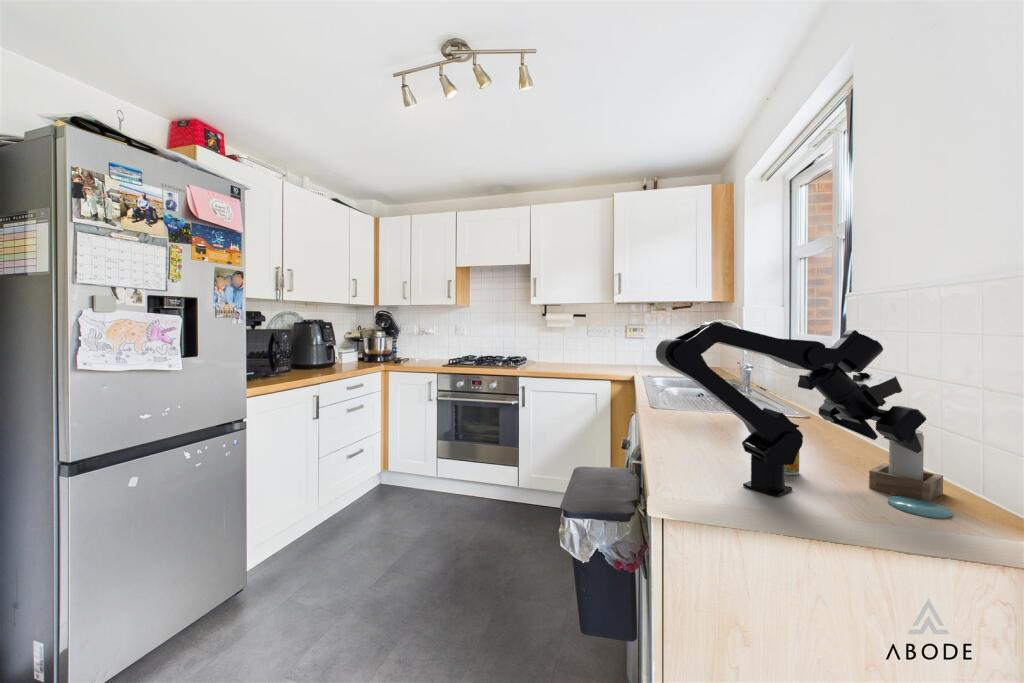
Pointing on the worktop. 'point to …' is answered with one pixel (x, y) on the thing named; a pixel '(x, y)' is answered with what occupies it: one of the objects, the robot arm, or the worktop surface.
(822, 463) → the worktop surface
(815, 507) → the worktop surface
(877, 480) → the square wooden frame
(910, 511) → the teal disc
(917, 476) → the beverage can
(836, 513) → the worktop surface
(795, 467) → the supplement bottle
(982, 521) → the worktop surface
